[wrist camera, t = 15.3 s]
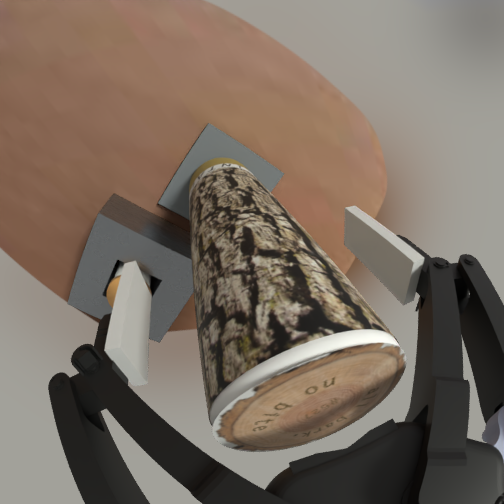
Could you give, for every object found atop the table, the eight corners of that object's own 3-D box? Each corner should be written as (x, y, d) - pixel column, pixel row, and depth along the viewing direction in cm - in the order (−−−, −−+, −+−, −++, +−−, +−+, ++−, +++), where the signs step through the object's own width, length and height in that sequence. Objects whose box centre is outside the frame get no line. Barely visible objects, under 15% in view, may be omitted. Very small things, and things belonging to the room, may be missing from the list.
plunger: (113, 268, 30) (101, 304, 24) (127, 238, 28) (115, 271, 23) (146, 284, 32) (141, 321, 26) (162, 255, 31) (158, 291, 25)
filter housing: (81, 274, 30) (67, 303, 25) (113, 193, 26) (98, 212, 21) (160, 310, 35) (159, 342, 30) (205, 240, 32) (209, 268, 27)
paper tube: (263, 191, 30) (413, 383, 9) (214, 227, 31) (278, 458, 10) (227, 143, 27) (389, 297, 5) (175, 183, 27) (162, 427, 6)
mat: (158, 202, 28) (158, 203, 28) (208, 123, 25) (208, 123, 25) (233, 242, 33) (233, 243, 32) (283, 172, 30) (284, 173, 30)
